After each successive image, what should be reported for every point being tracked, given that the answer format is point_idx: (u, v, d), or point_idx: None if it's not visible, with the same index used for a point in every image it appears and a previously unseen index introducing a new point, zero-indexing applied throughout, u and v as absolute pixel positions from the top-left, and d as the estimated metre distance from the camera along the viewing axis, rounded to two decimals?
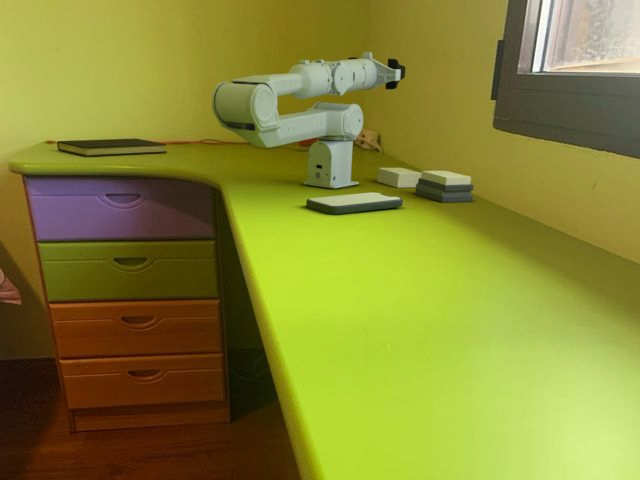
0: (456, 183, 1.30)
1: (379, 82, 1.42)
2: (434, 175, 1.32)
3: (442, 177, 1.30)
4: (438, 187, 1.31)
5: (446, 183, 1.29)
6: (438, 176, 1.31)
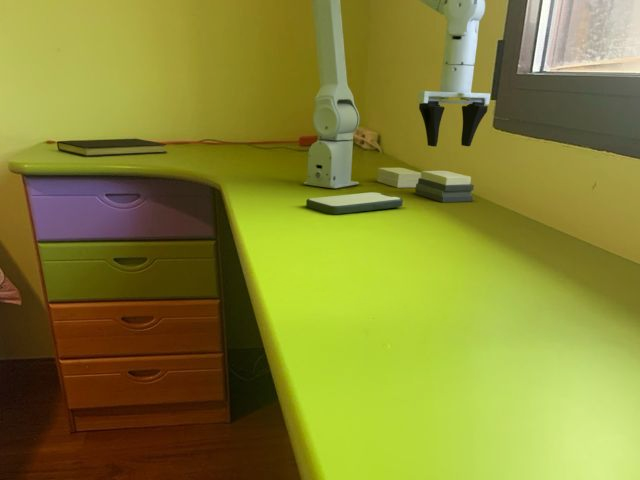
0: (456, 183, 1.30)
1: None
2: (434, 175, 1.32)
3: (442, 177, 1.30)
4: (438, 187, 1.31)
5: (446, 183, 1.29)
6: (438, 176, 1.31)
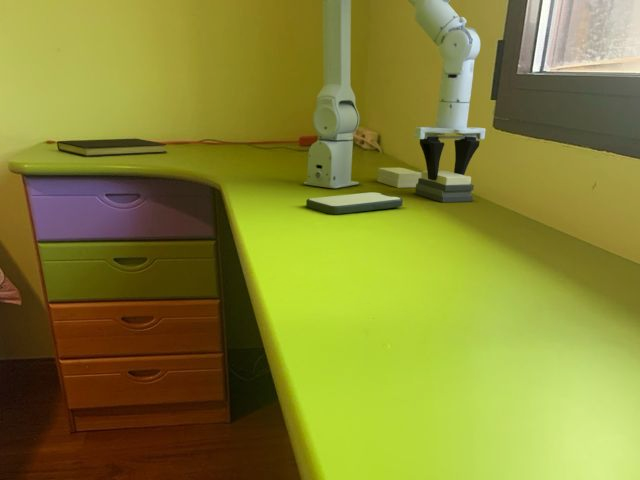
0: (456, 183, 1.30)
1: None
2: None
3: (442, 177, 1.30)
4: (438, 187, 1.31)
5: (446, 183, 1.29)
6: (438, 176, 1.31)
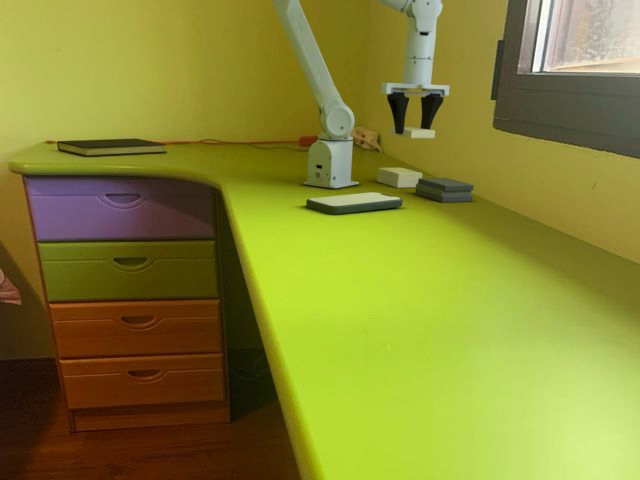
0: (421, 136, 1.38)
1: None
2: None
3: (408, 130, 1.38)
4: (438, 187, 1.31)
5: (411, 136, 1.37)
6: (404, 130, 1.39)
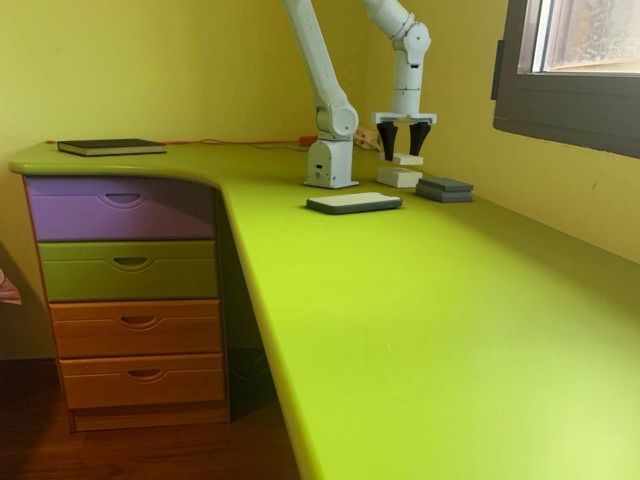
0: (410, 163, 1.43)
1: None
2: None
3: (397, 158, 1.43)
4: (438, 187, 1.31)
5: (400, 163, 1.43)
6: (394, 157, 1.44)
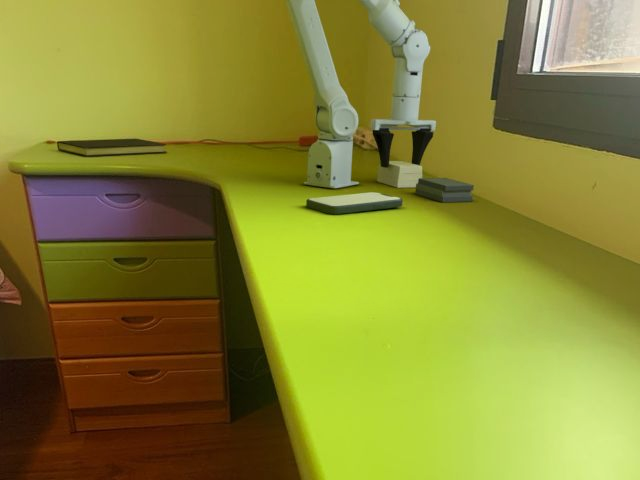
0: (409, 172, 1.44)
1: None
2: (390, 165, 1.46)
3: (396, 166, 1.44)
4: (438, 187, 1.31)
5: (400, 172, 1.43)
6: (393, 165, 1.45)
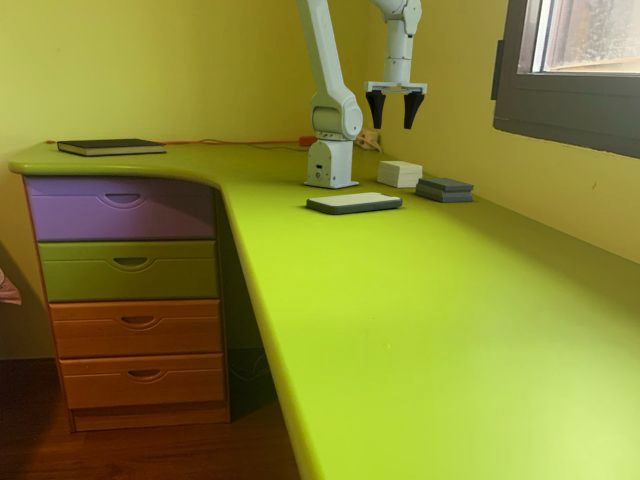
0: (409, 172, 1.44)
1: None
2: (390, 165, 1.46)
3: (396, 166, 1.44)
4: (438, 187, 1.31)
5: (400, 172, 1.43)
6: (393, 165, 1.45)
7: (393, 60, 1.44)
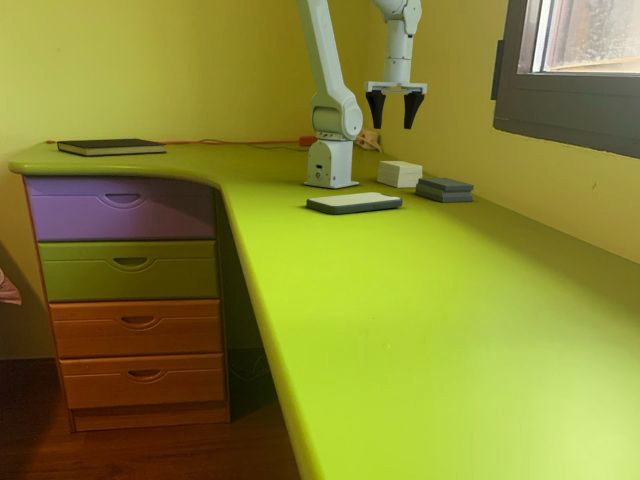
0: (409, 172, 1.44)
1: None
2: (390, 165, 1.46)
3: (396, 166, 1.44)
4: (438, 187, 1.31)
5: (400, 172, 1.43)
6: (393, 165, 1.45)
7: (393, 60, 1.44)
